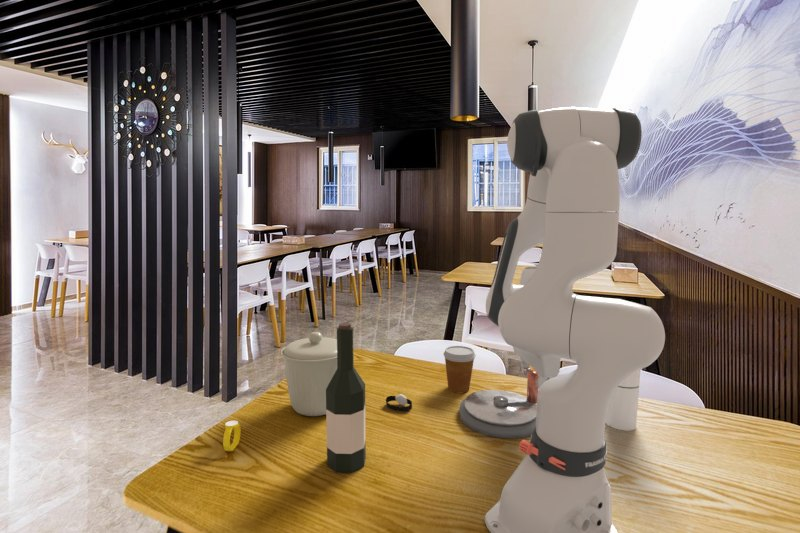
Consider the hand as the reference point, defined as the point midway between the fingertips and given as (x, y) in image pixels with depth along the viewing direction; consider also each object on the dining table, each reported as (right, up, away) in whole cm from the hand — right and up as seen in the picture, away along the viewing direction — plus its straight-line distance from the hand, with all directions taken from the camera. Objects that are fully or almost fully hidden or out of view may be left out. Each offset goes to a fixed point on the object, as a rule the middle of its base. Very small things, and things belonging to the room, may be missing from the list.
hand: (532, 380), depth 110 cm
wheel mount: (-9, -9, 0) cm, 13 cm away
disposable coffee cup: (-17, -7, +18) cm, 26 cm away
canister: (-57, -9, +5) cm, 58 cm away
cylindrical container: (+21, -10, -3) cm, 24 cm away
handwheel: (-8, -7, 0) cm, 11 cm away
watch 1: (-72, -11, -15) cm, 74 cm away
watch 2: (-35, -9, +5) cm, 37 cm away
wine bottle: (-46, -12, -20) cm, 51 cm away
